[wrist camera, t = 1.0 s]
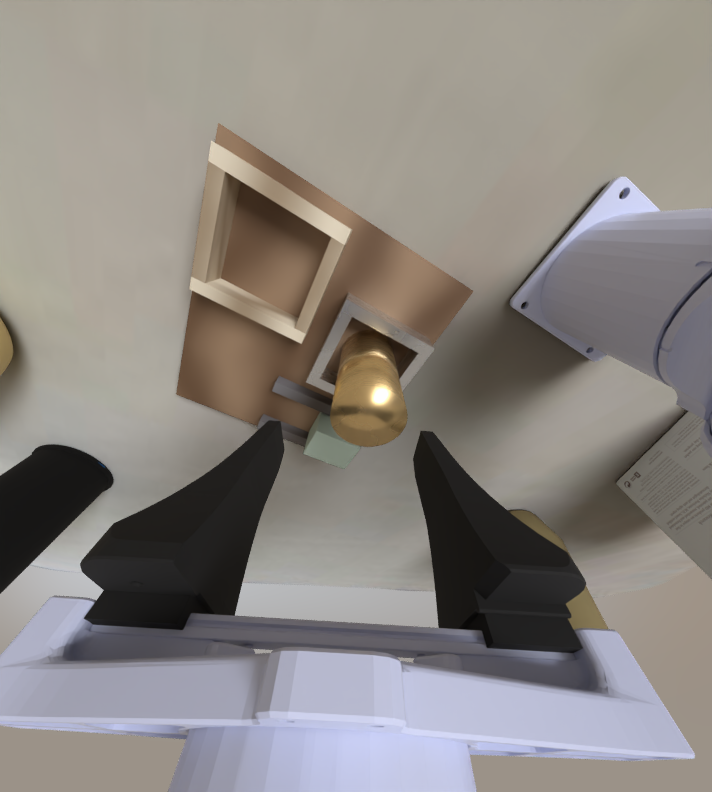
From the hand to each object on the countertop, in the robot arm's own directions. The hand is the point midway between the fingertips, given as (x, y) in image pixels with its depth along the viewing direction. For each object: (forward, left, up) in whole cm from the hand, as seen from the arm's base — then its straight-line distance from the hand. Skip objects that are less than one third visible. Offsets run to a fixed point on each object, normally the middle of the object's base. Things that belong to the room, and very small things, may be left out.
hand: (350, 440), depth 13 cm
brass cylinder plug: (0, -1, -9) cm, 9 cm away
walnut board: (+4, +1, -10) cm, 10 cm away
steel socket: (0, -1, -9) cm, 9 cm away
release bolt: (-1, +7, -8) cm, 11 cm away
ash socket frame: (+8, -4, -9) cm, 13 cm away
